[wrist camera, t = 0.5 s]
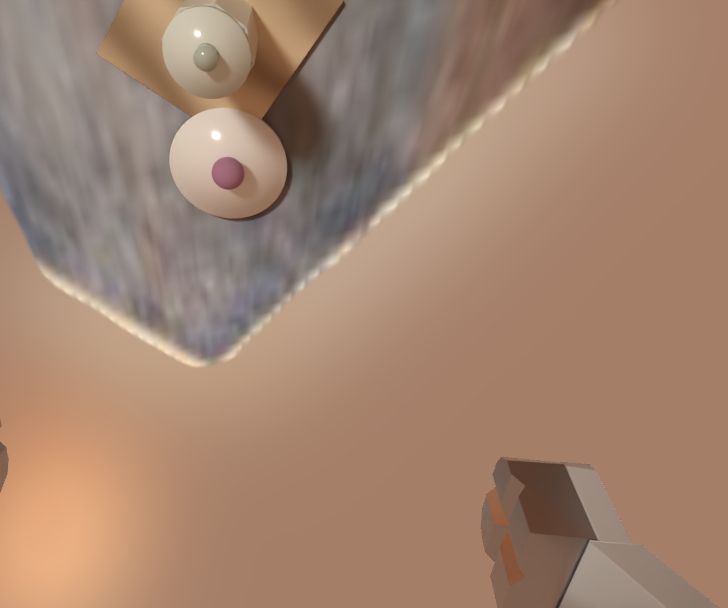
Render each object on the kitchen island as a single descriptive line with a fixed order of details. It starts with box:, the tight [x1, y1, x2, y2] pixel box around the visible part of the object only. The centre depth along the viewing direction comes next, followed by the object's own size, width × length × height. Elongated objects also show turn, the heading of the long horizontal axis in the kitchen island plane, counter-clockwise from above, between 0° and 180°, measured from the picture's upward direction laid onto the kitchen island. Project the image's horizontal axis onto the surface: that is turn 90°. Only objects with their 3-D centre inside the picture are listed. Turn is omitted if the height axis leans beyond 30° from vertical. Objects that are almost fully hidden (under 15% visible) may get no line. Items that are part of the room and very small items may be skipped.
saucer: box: [169, 108, 287, 218], centre depth 55 cm, size 11×11×1 cm
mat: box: [97, 0, 343, 120], centre depth 48 cm, size 16×14×1 cm
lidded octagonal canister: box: [161, 0, 258, 99], centre depth 43 cm, size 6×6×11 cm
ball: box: [212, 157, 244, 190], centre depth 54 cm, size 3×3×3 cm
